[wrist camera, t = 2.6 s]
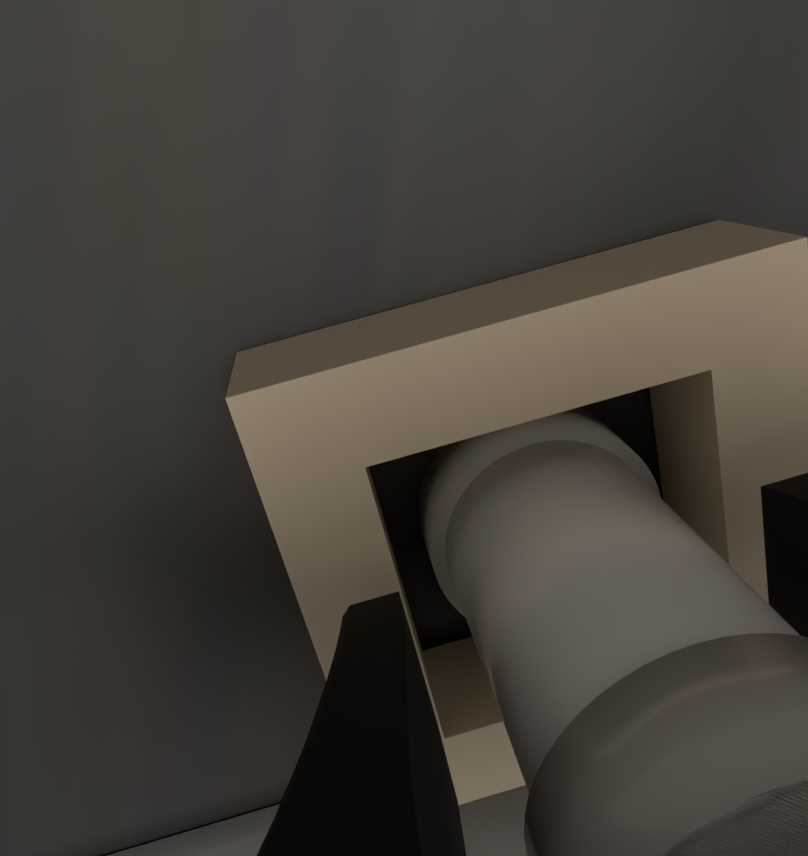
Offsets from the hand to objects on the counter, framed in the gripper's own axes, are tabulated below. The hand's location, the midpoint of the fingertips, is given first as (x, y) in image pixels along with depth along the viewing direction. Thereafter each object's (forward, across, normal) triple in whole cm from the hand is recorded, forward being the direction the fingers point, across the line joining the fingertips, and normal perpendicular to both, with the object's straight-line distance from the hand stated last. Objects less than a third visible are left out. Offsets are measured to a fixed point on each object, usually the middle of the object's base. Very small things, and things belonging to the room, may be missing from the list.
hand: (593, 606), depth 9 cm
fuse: (+3, 0, 0) cm, 3 cm away
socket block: (+3, 0, 0) cm, 3 cm away
